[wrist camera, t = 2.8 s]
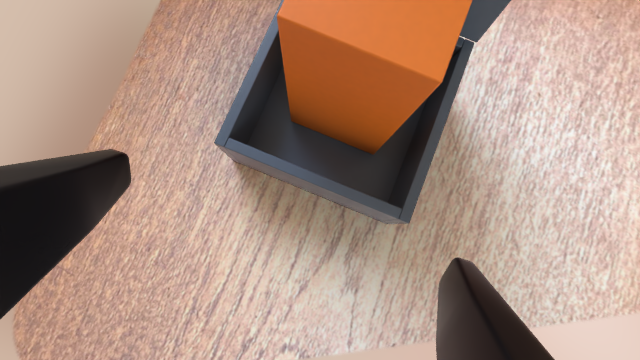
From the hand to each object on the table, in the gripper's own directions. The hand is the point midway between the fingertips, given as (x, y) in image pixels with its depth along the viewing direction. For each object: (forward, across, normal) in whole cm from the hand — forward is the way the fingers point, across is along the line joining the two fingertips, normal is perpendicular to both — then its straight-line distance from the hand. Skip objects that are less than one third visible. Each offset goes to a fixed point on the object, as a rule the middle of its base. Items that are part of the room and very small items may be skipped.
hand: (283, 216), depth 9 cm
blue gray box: (+15, 0, +2) cm, 15 cm away
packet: (+14, 0, +2) cm, 15 cm away
